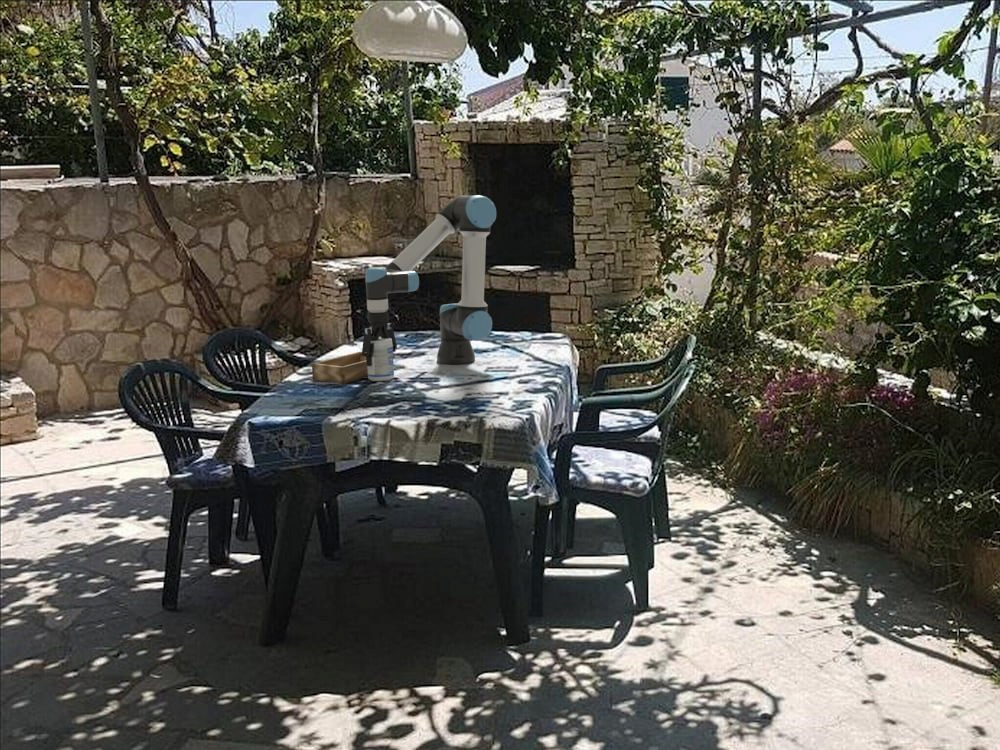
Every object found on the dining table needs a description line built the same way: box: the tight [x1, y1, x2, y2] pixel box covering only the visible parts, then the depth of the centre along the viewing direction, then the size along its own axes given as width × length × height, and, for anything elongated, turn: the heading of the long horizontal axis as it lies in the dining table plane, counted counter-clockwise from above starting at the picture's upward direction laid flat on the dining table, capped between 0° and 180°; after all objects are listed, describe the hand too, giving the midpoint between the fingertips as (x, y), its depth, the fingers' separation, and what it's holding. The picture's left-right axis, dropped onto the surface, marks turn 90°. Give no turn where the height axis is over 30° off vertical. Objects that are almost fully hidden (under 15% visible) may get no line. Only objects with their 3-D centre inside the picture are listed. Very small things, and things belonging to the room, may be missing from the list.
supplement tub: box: [367, 337, 395, 382], centre depth 320 cm, size 10×10×15 cm
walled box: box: [311, 351, 368, 385], centre depth 328 cm, size 15×26×6 cm, turn 147°
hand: (380, 371), depth 321 cm, fingers closed on supplement tub, 9 cm apart
